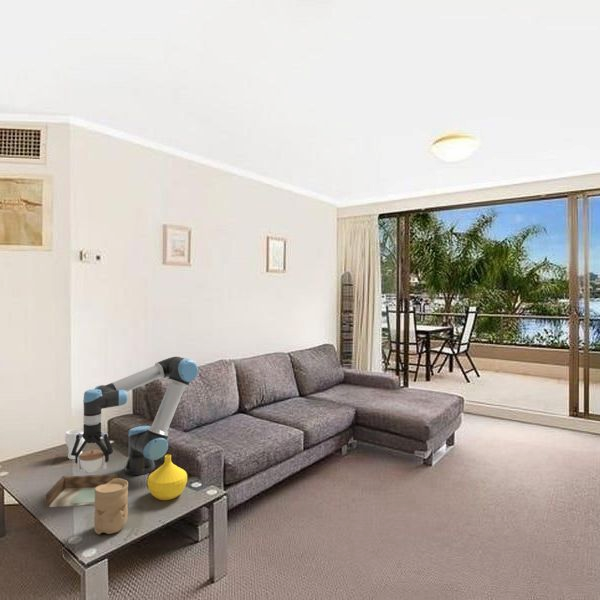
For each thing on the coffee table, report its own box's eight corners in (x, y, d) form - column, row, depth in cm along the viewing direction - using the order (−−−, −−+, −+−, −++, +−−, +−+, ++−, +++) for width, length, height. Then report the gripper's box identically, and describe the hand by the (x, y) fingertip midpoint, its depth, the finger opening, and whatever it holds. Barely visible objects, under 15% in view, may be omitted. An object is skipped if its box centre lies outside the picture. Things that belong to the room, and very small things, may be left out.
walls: (118, 486, 210) (118, 474, 209) (106, 504, 192) (106, 491, 192) (62, 488, 206) (62, 476, 206) (45, 507, 188) (45, 494, 188)
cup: (73, 452, 250) (73, 427, 250) (89, 453, 249) (89, 428, 248) (60, 459, 240) (60, 433, 239) (77, 461, 238) (77, 435, 238)
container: (87, 532, 169) (87, 488, 169) (111, 517, 181) (111, 476, 181) (111, 540, 165) (111, 494, 164) (134, 523, 177) (134, 481, 176)
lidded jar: (74, 471, 196) (74, 451, 196) (96, 463, 205) (96, 444, 205) (87, 477, 191) (87, 456, 190) (109, 468, 200) (109, 449, 200)
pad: (112, 487, 206) (112, 487, 206) (102, 502, 192) (102, 501, 192) (81, 489, 204) (81, 488, 204) (70, 503, 190) (70, 503, 190)
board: (118, 486, 210) (118, 484, 209) (106, 504, 192) (106, 503, 192) (62, 488, 206) (62, 487, 206) (45, 507, 188) (45, 506, 188)
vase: (146, 490, 206) (146, 451, 206) (184, 483, 213) (184, 446, 213) (148, 508, 189) (148, 466, 189) (189, 500, 196) (190, 460, 196)
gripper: (120, 419, 203) (120, 464, 203) (69, 420, 200) (69, 466, 200) (115, 424, 195) (115, 471, 196) (62, 426, 192) (62, 473, 193)
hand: (92, 469), depth 198 cm, fingers closed on lidded jar, 11 cm apart
